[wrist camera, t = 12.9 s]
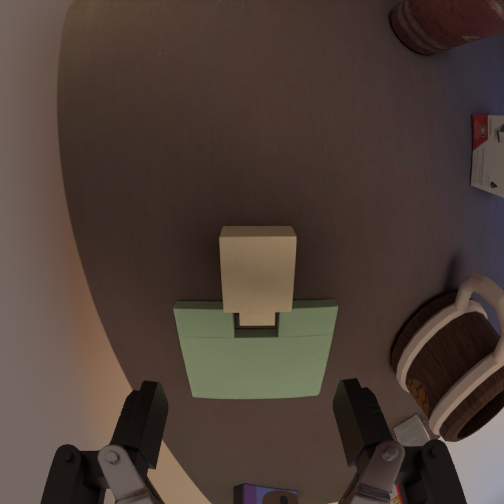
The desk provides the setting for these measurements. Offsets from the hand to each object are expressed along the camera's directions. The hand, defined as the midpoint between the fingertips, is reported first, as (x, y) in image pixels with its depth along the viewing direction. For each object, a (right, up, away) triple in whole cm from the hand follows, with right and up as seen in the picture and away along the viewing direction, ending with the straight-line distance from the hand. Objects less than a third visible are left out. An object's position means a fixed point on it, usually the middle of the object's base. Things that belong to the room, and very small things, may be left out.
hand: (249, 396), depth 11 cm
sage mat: (+1, -5, +18) cm, 19 cm away
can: (+16, +29, +5) cm, 33 cm away
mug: (+25, -3, +18) cm, 31 cm away
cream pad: (+1, +4, +15) cm, 15 cm away
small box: (+32, -29, +28) cm, 51 cm away
